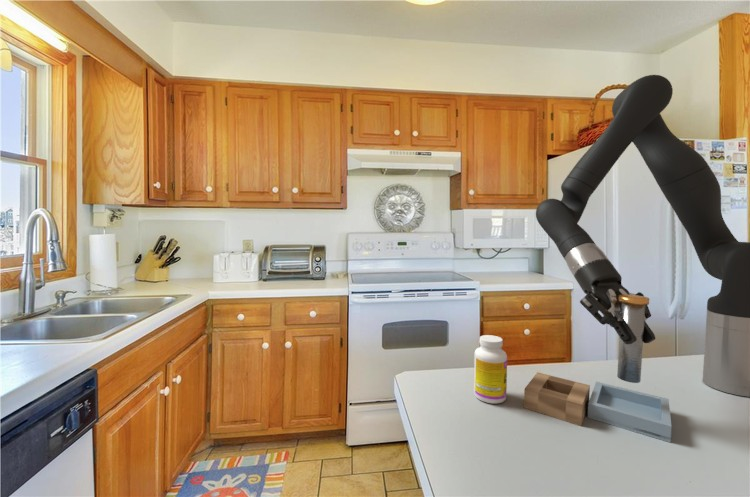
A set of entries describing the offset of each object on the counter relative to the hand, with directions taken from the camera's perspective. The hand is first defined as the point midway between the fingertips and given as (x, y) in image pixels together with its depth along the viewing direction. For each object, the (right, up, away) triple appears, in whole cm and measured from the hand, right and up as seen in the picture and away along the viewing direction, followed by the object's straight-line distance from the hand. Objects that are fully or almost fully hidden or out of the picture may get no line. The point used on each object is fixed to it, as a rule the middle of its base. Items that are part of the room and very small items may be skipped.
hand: (641, 341), depth 63 cm
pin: (0, -8, +2) cm, 8 cm away
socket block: (-12, -15, +6) cm, 20 cm away
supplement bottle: (-25, -15, +10) cm, 31 cm away
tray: (0, -15, +3) cm, 15 cm away
